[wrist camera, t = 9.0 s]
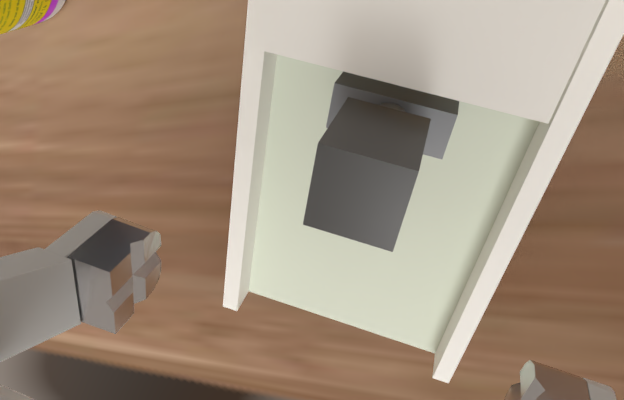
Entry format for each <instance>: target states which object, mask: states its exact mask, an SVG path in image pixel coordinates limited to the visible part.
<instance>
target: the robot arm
mask: <svg viewBox="0 0 624 400" xmlns="http://www.w3.org/2000/svg"><path fill="white" fill-rule="evenodd" d="M160 246H161V237H160V234H159V233H158V232H157V231H155V230H152V229H150V228H147V227H144V226H142V225H139V224H136V223H134V222H131V221H128V220H126V219H123V218H120V217H116V216H114V215H111V214H108V213H106V212H103V211H100V210H98V211H94V212H92V213H90V214H89V215H88V216H86V217H85V218H84V219H83V220H81V221H80V222H79V223H77V224H76V225H75V226H74V227H72V228H71V229H70V230H69V231H67V232H66V233H65V234H63V235H62V236H61V237H60V238H58V239H57V240H56V241H54V242H53V243H52V244H51V245H49V246H48V247H47V248H45V249H42V248H39V247H38V248H34V249H30V250H26V251H23V252H19V253H15V254H11V255H7V256H4V257H0V362H2V361H4V360H6V359H8V358H10V357H12V356H14V355H16V354H19V353H20V352H23V351H25V350H27V349H29V348H31V347H33V346H35V345H37V344H40V343H42V342H44V341H46V340H48V339H50V338H52V337H54V336H56V335H58V334H60V333H63V332H65V331H67V330H69V329H71V328H73V327H75V326H77V325H79V324H81V322H84V323H86V324H89V325H92V326H95V327H98V328H100V329H103V330H106V331H109V332H112V333H114V334H116V333H117V332H118V331H119V330H120V328H121V327H122V326H123V325H124V324H125V323H126V322H127V320H128V319H129V318H130V317H131V316H132V315H133V314H134V303H137V302H140V301H142V300H145V299H147V297H148V296H149V295H150V294H151V293H152V291H153V290H154V288H155V286H156V284H157V282H158V280H159V277H160V272H161V260H160V258H159V256H158V255H157V253H156V251H157V250H158V248H159V247H160ZM0 400H35V399H33V398H31V397H28V396H26V395H24V394H21V393H19V392H16V391H14V390H12V389H10V388H7V387H5V386H3V385H0ZM504 400H617V399H616V395H615V392H614V390H613V389H612V388H611V387H610V386H607V385H604V384H601V383H598V382H595V381H592V380H589V379H586V378H581V377H579V376H576V375H573V374H570V373H567V372H565V371H562V370H559V369H556V368H553V367H550V366H547V365H544V364H541V363H538V362H535V361H532V360H529V361H528V362H527V363H525V365H524V366H523V368H522V369H521V371H520V383H517V384H514V385H511V387H510V389H509V391H508V392H507V394H506V396H505V399H504Z"/></svg>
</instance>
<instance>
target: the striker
mask: <svg viewBox="0 0 624 400" xmlns="http://www.w3.org/2000/svg"><path fill="white" fill-rule="evenodd" d="M458 108H459V101H457V100H453V99H449V98H445V97H441V96H438V95H434V94H430V93H426V92H422V91H418V90H414V89H410V88H406V87H402V86H398V85H395V84H391V83H387V82H383V81H379V80H375V79H371V78H367V77H363V76H359V75H355V74H352V73H348V72H344V71H343V73H342V74H341V75H340V76H339V78H338V79H337V80H336V82H335V83H334V88H333V93H332V98H331V104H330V109H329V114H328V119H327V124H326V128H327V130H326V131H325V133H324V135H323V136H322V138H321V139H320V141H319V142H318V145H317V151H316V156H315V161H314V167H313V172H312V178H311V183H310V188H309V194H308V199H307V205H306V210H305V215H304V221H303V225H306V226H309V227H312V228H316V229H319V230H322V231H325V232H329V233H332V234H335V235H338V236H342V237H345V238H348V239H351V240H355V241H358V242H361V243H365V244H368V245H371V246H374V247H378V248H381V249H384V250H387V251H391V252H393V250H394V247H395V244H396V241H397V238H398V234H399V231H400V228H401V225H402V222H403V219H404V216H405V213H406V210H407V207H408V204H409V200H410V197H411V194H412V191H413V188H414V185H415V182H416V179H417V176H418V173H419V169H420V164H421V160H422V156H423V154H424V155H427V156H431V157H435V158H438V159H443V156H444V153H445V150H446V147H447V144H448V141H449V139H450V136H451V133H452V130H453V127H454V124H455V121H456V119H457V116H458Z"/></svg>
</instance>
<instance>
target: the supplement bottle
mask: <svg viewBox="0 0 624 400" xmlns="http://www.w3.org/2000/svg"><path fill="white" fill-rule="evenodd" d="M64 3H65V0H0V34H3V33H6V32H10V31H13V30H17V29H20V28H24V27H27V26H30V25H33V24H37V23H40V22H43V21H45V20H48V19H50V18H51V17H53V16H54V15H55V14H56V13H57V12H59V10H60V9H61V8H62V6H63V4H64Z"/></svg>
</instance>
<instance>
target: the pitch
mask: <svg viewBox="0 0 624 400" xmlns="http://www.w3.org/2000/svg"><path fill="white" fill-rule="evenodd" d="M623 34H624V0H248V8H247V20H246V33H245V45H244V57H243V69H242V81H241V93H240V105H239V117H238V129H237V142H236V154H235V166H234V178H233V190H232V202H231V214H230V226H229V238H228V250H227V263H226V275H225V287H224V299H223V307H226V308H229V309H232V310H235V311H237V310H238V309H239V307H240V305H241V303H242V302H243V300H244V298H245V297H246V295H247V293H248V291H250V292H253V293H256V294H259V295H262V296H265V297H268V298H271V299H274V300H277V301H280V302H283V303H286V304H289V305H292V306H294V307H297V308H300V309H303V310H306V311H309V312H312V313H315V314H318V315H321V316H324V317H327V318H330V319H333V320H336V321H339V322H342V323H345V324H348V325H351V326H354V327H357V328H360V329H363V330H366V331H369V332H372V333H375V334H378V335H381V336H384V337H387V338H390V339H393V340H396V341H399V342H402V343H405V344H408V345H411V346H414V347H417V348H420V349H423V350H426V351H429V352H432V353H435V359H434V368H433V378H434V379H437V380H440V381H443V382H446V383H449V381H450V379H451V378H452V376H453V374H454V372H455V370H456V368H457V366H458V364H459V362H460V360H461V358H462V356H463V354H464V352H465V350H466V348H467V346H468V344H469V342H470V340H471V338H472V336H473V334H474V332H475V330H476V328H477V326H478V324H479V322H480V320H481V318H482V316H483V314H484V312H485V310H486V308H487V306H488V304H489V302H490V300H491V298H492V296H493V294H494V292H495V290H496V288H497V286H498V284H499V282H500V280H501V278H502V276H503V274H504V272H505V270H506V268H507V266H508V264H509V262H510V260H511V258H512V256H513V254H514V252H515V250H516V248H517V246H518V244H519V242H520V240H521V238H522V236H523V234H524V232H525V230H526V228H527V226H528V224H529V222H530V220H531V218H532V216H533V214H534V212H535V210H536V208H537V206H538V204H539V202H540V200H541V198H542V196H543V194H544V192H545V190H546V188H547V186H548V184H549V182H550V180H551V178H552V176H553V174H554V172H555V170H556V168H557V166H558V164H559V162H560V160H561V158H562V156H563V154H564V152H565V150H566V148H567V146H568V144H569V142H570V140H571V138H572V136H573V134H574V132H575V130H576V128H577V126H578V124H579V122H580V120H581V118H582V116H583V114H584V112H585V110H586V108H587V106H588V104H589V102H590V100H591V98H592V96H593V94H594V92H595V90H596V88H597V86H598V84H599V82H600V80H601V78H602V76H603V74H604V72H605V70H606V68H607V66H608V64H609V62H610V60H611V58H612V56H613V54H614V52H615V50H616V48H617V46H618V44H619V42H620V40H621V38H622V36H623ZM343 71H344V72H348V73H352V74H355V75H359V76H363V77H367V78H371V79H375V80H379V81H383V82H387V83H391V84H395V85H398V86H402V87H406V88H410V89H414V90H418V91H422V92H426V93H430V94H434V95H438V96H441V97H445V98H449V99H453V100H457V101H459V108H458V116H457V119H456V121H455V124H454V127H453V130H452V133H451V136H450V139H449V141H448V144H447V147H446V150H445V153H444V156H443V159H438V158H435V157H431V156H427V155H424V154H423V156H422V160H421V164H420V169H419V173H418V176H417V179H416V182H415V185H414V188H413V191H412V194H411V197H410V200H409V204H408V207H407V210H406V213H405V216H404V219H403V222H402V225H401V228H400V231H399V234H398V238H397V241H396V244H395V247H394V250H393V252H391V251H387V250H384V249H381V248H378V247H374V246H371V245H368V244H365V243H361V242H358V241H355V240H351V239H348V238H345V237H342V236H338V235H335V234H332V233H329V232H325V231H322V230H319V229H316V228H312V227H309V226H306V225H303V221H304V215H305V210H306V205H307V199H308V194H309V188H310V183H311V178H312V172H313V167H314V161H315V156H316V151H317V145H318V142H319V141H320V139H321V138H322V136H323V135H324V133H325V131H326V130H327V128H326V124H327V119H328V114H329V109H330V104H331V98H332V93H333V88H334V83H335V82H336V80H337V79H338V78H339V76H340V75H341V74H342V73H343Z"/></svg>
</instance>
